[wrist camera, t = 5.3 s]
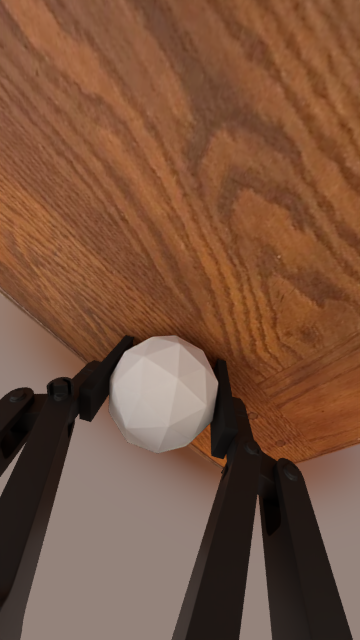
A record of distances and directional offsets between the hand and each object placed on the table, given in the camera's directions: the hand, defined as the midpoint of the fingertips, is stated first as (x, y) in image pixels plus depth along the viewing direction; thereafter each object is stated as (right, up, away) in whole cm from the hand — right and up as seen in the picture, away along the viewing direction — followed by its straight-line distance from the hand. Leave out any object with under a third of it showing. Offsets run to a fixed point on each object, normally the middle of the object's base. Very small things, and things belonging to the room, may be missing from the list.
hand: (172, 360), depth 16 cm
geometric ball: (0, 0, 0) cm, 1 cm away
